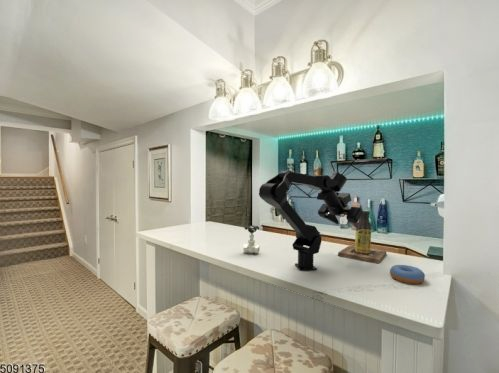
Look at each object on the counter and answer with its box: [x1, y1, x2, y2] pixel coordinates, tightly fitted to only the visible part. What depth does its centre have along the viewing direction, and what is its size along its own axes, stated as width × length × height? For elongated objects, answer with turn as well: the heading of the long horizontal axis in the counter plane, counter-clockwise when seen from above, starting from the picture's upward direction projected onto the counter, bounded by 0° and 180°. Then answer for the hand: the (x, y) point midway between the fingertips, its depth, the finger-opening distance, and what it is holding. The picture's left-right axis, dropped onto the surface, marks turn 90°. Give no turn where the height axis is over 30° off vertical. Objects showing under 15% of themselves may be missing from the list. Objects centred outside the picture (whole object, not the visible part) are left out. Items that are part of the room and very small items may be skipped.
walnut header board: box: [337, 244, 387, 264], centre depth 113 cm, size 16×16×2 cm
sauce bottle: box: [354, 209, 372, 256], centre depth 112 cm, size 6×6×20 cm
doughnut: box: [389, 264, 426, 285], centre depth 86 cm, size 10×10×5 cm
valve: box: [243, 224, 260, 255], centre depth 113 cm, size 7×7×12 cm
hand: (347, 225), depth 110 cm, fingers open, 9 cm apart
